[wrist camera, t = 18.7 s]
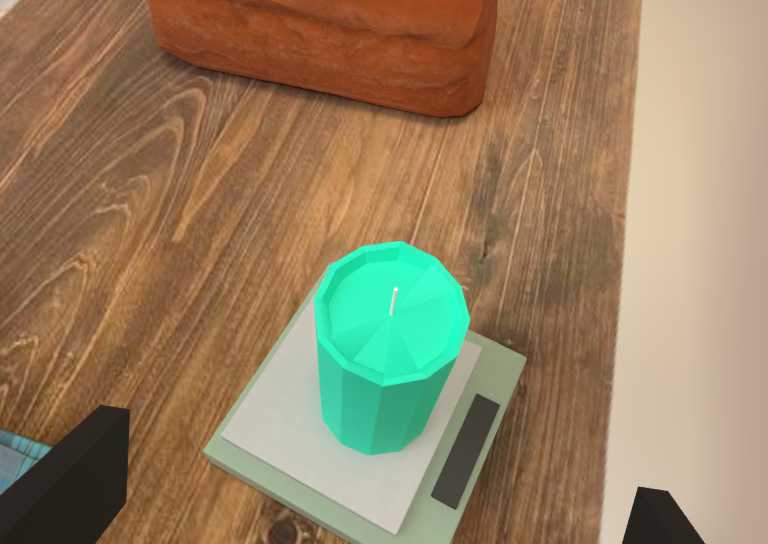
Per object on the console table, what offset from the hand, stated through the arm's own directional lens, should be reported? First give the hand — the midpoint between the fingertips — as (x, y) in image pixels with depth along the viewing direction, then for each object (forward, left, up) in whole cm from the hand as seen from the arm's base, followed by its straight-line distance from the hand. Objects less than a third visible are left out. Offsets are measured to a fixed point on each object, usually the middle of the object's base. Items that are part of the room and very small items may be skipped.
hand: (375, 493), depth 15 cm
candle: (+3, -7, -15) cm, 16 cm away
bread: (+21, -34, -18) cm, 43 cm away
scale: (+3, -7, -17) cm, 19 cm away
